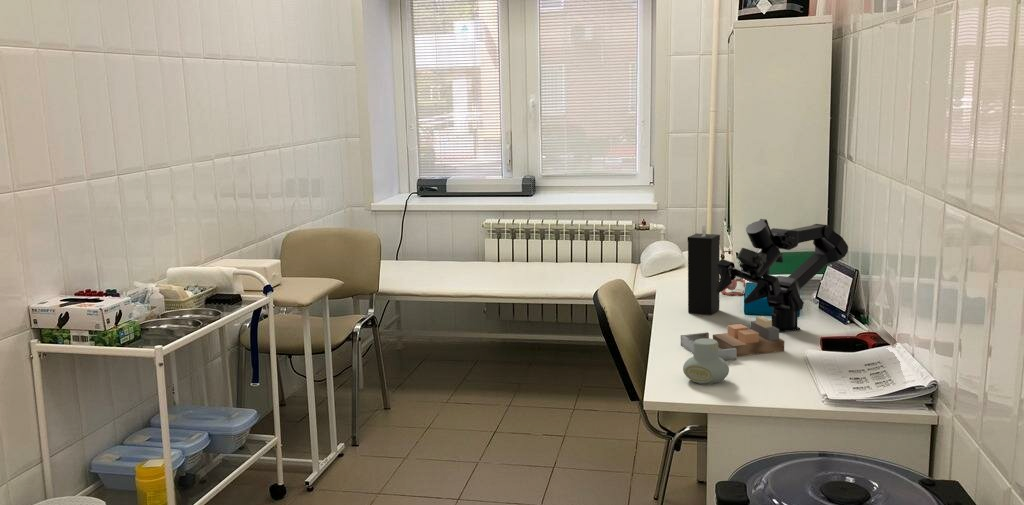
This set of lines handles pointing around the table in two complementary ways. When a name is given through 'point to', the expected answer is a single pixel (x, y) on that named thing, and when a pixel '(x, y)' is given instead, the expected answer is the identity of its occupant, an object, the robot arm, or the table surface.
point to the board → (748, 345)
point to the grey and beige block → (765, 328)
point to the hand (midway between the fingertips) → (731, 297)
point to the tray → (689, 339)
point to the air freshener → (705, 363)
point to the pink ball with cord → (733, 287)
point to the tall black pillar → (703, 273)
